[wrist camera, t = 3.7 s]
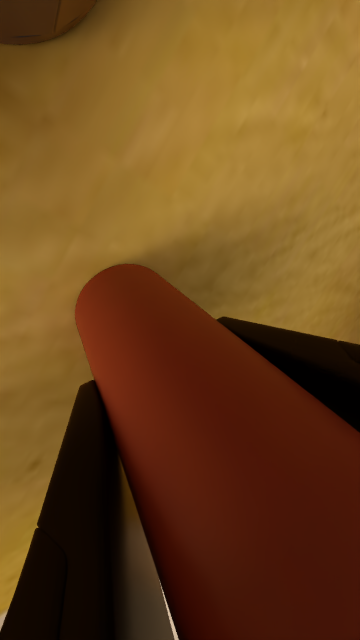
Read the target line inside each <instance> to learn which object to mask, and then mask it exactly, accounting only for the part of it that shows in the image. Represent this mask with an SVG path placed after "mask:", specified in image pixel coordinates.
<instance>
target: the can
mask: <svg viewBox="0 0 360 640" xmlns="http://www.w3.org/2000/svg"><path fill="white" fill-rule="evenodd" d="M96 2H97V0H0V43H2V44H18V45H21V44H30V43H39V42H42V41H45V40H49V39H52V38H55V37H57V36H59V35H61V34H63V33H64V32H66V31H68V30H70V29H71V28H73V27H74V26H75V25H76V24H77V23H78V22H79V21H81V20H82V19H83V18H84V17H85V16H86V15H87V13H88V12H89V11H90V9H91V8H92V7H93V6H94V4H95V3H96Z"/></svg>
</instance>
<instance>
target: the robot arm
mask: <svg viewBox="0 0 360 640" xmlns="http://www.w3.org/2000/svg"><path fill="white" fill-rule="evenodd" d="M216 320H217V321H218V322H219V323H221V324H222V325H223V326H224V327H226V328H227V329H228V330H230V331H231V332H232V333H233V334H235V335H236V336H237V337H238V338H240V339H241V340H242V341H244V342H245V343H246V344H247V345H249V346H250V347H251V348H252V349H254V350H255V351H256V352H258V353H259V354H260V355H261V356H263V357H264V358H265V359H266V360H268V361H269V362H270V363H272V364H273V365H274V366H275V367H277V368H278V369H279V370H281V371H282V372H283V373H284V374H286V375H287V376H288V377H289V378H291V379H292V380H293V381H295V382H296V383H297V384H298V385H300V386H301V387H302V388H303V389H305V390H306V391H307V392H309V393H310V394H311V395H312V396H314V397H315V398H316V399H317V400H319V401H320V402H321V403H323V404H324V405H325V406H326V407H328V408H329V409H330V410H332V411H333V412H334V413H335V414H337V415H338V416H339V417H340V418H342V419H343V420H344V421H346V422H347V423H348V424H349V425H351V426H352V427H353V428H354V429H356V430H357V431H358V432H360V345H359V344H354V343H349V342H344V341H337V340H334V339H330V338H325V337H320V336H315V335H310V334H306V333H301V332H296V331H291V330H286V329H282V328H277V327H272V326H267V325H262V324H257V323H253V322H248V321H243V320H238V319H233V318H229V317H220V318H218V319H216ZM37 526H38V528H36V529H35V531H34V535H33V538H32V541H31V544H30V548H29V551H28V554H27V557H26V560H25V563H24V566H23V569H22V572H21V575H20V578H19V581H18V584H17V587H16V590H15V593H14V596H13V598H12V601H11V604H10V607H9V609H8V612H7V615H6V617H5V620H4V623H3V626H2V628H1V631H0V640H174V636H173V632H172V628H171V624H170V620H169V616H168V612H167V608H166V604H165V601H164V597H163V593H162V589H161V585H160V581H159V577H158V574H157V571H156V568H155V565H154V561H153V558H152V555H151V552H150V549H149V546H148V543H147V540H146V537H145V534H144V531H143V528H142V525H141V521H140V518H139V515H138V512H137V509H136V506H135V503H134V500H133V497H132V494H131V491H130V488H129V485H128V481H127V478H126V475H125V472H124V469H123V466H122V463H121V460H120V457H119V454H118V451H117V448H116V445H115V441H114V438H113V435H112V432H111V429H110V426H109V423H108V419H107V416H106V412H105V409H104V406H103V403H102V400H101V397H100V394H99V391H98V388H97V385H96V382H95V380H91V381H89V382H87V383H85V384H83V385H81V386H80V387H79V390H78V393H77V396H76V400H75V403H74V406H73V409H72V413H71V416H70V419H69V422H68V426H67V429H66V432H65V435H64V438H63V442H62V445H61V448H60V451H59V455H58V458H57V461H56V464H55V468H54V471H53V474H52V477H51V480H50V484H49V487H48V490H47V493H46V497H45V500H44V503H43V506H42V510H41V513H40V516H39V519H38V522H37Z"/></svg>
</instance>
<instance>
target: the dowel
mask: <svg viewBox="0 0 360 640" xmlns="http://www.w3.org/2000/svg"><path fill="white" fill-rule="evenodd" d="M75 319H76V325H77V328H78V331H79V334H80V337H81V340H82V343H83V346H84V349H85V352H86V355H87V358H88V361H89V365H90V368H91V371H92V374H93V377H94V380H95V382H96V385H97V388H98V391H99V394H100V397H101V400H102V403H103V406H104V409H105V412H106V416H107V419H108V423H109V426H110V429H111V432H112V435H113V438H114V441H115V445H116V448H117V451H118V454H119V457H120V460H121V463H122V466H123V469H124V472H125V475H126V478H127V481H128V485H129V488H130V491H131V494H132V497H133V500H134V503H135V506H136V509H137V512H138V515H139V518H140V521H141V525H142V528H143V531H144V534H145V537H146V540H147V543H148V546H149V549H150V552H151V555H152V558H153V561H154V565H155V568H156V571H157V574H158V577H159V580H160V583H161V586H162V589H163V592H164V595H165V598H166V601H167V604H168V607H169V610H170V613H171V617H172V620H173V623H174V626H175V629H176V632H177V635H178V638H179V640H360V432H358V431H357V430H356V429H354V428H353V427H352V426H351V425H349V424H348V423H347V422H346V421H344V420H343V419H342V418H340V417H339V416H338V415H337V414H335V413H334V412H333V411H332V410H330V409H329V408H328V407H326V406H325V405H324V404H323V403H321V402H320V401H319V400H317V399H316V398H315V397H314V396H312V395H311V394H310V393H309V392H307V391H306V390H305V389H303V388H302V387H301V386H300V385H298V384H297V383H296V382H295V381H293V380H292V379H291V378H289V377H288V376H287V375H286V374H284V373H283V372H282V371H281V370H279V369H278V368H277V367H275V366H274V365H273V364H272V363H270V362H269V361H268V360H266V359H265V358H264V357H263V356H261V355H260V354H259V353H258V352H256V351H255V350H254V349H252V348H251V347H250V346H249V345H247V344H246V343H245V342H244V341H242V340H241V339H240V338H238V337H237V336H236V335H235V334H233V333H232V332H231V331H230V330H228V329H227V328H226V327H224V326H223V325H222V324H221V323H219V322H218V321H217V320H215V319H214V318H213V317H212V316H210V315H209V314H208V313H207V312H205V311H204V310H203V309H201V308H200V307H199V306H198V305H196V304H195V303H194V302H193V301H191V300H190V299H189V298H187V297H186V296H185V295H184V294H182V293H181V292H180V291H179V290H177V289H176V288H175V287H173V286H172V285H171V284H170V283H168V282H167V281H166V280H164V279H163V278H162V277H161V276H159V275H158V274H157V273H156V272H154V271H152V270H151V269H149V268H147V267H144V266H141V265H135V264H123V265H117V266H113V267H110V268H108V269H105V270H104V271H102V272H100V273H98V274H97V275H96V276H94V277H93V278H92V279H91V280H90V281H89V282H88V283H87V284H86V285H85V287H84V288H83V290H82V291H81V293H80V295H79V297H78V300H77V304H76V309H75Z"/></svg>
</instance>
